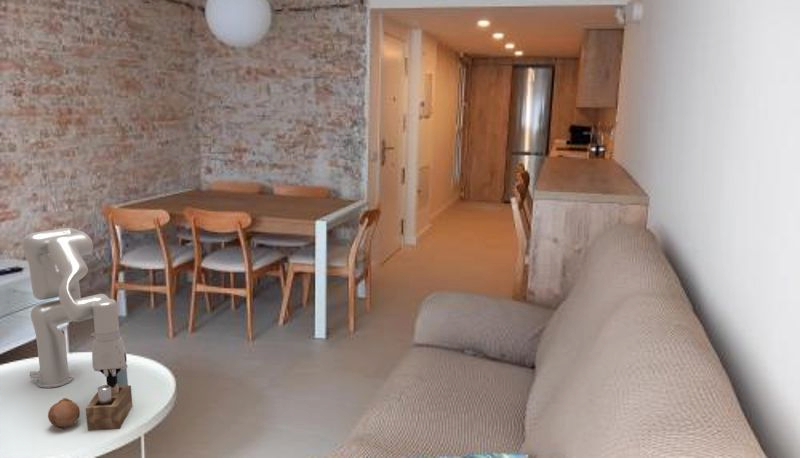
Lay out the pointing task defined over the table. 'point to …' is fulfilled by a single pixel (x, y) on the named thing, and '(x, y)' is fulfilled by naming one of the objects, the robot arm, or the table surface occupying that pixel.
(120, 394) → the socket block
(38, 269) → the robot arm
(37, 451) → the table surface
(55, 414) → the onion
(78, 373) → the table surface
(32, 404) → the table surface
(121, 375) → the bottle
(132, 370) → the table surface
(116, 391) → the peg birch
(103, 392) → the peg metal
